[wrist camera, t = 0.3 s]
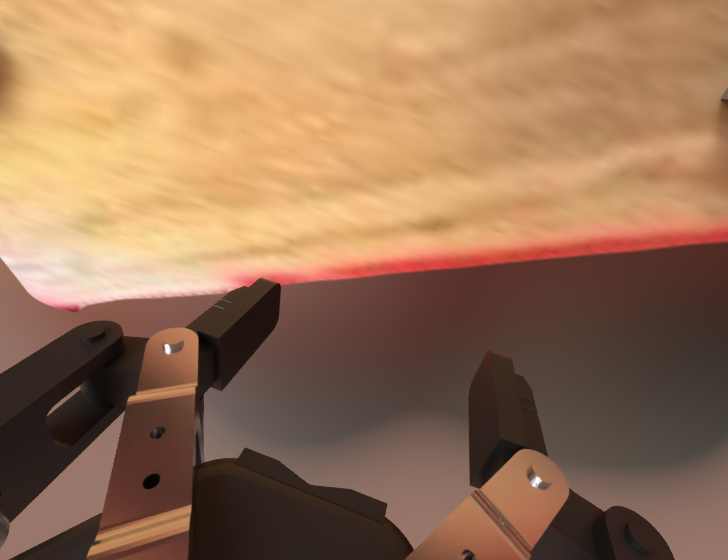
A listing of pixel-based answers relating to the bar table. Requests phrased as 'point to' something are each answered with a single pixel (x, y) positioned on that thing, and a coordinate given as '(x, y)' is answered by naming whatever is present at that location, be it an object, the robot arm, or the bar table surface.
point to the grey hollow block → (725, 95)
